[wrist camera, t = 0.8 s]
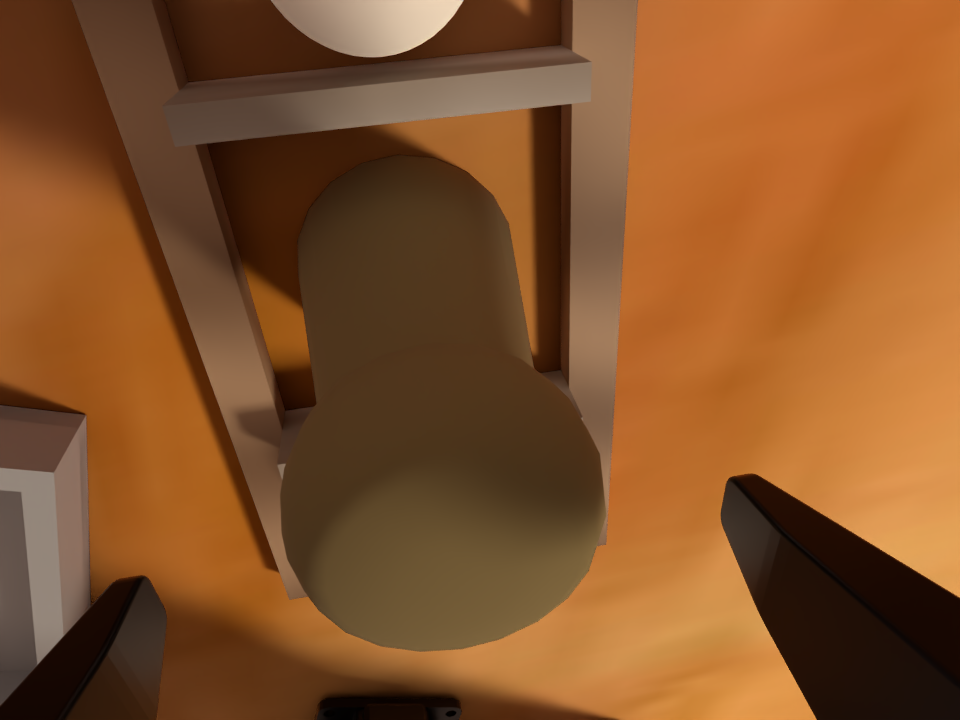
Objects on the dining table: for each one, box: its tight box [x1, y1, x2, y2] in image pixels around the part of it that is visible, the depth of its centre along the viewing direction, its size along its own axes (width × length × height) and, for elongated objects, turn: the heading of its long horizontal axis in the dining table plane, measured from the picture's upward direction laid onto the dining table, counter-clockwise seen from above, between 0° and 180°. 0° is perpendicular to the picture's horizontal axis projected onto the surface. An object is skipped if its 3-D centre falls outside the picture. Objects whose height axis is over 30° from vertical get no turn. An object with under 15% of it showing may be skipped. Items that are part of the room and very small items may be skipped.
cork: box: [280, 155, 606, 652], centre depth 14 cm, size 6×6×11 cm
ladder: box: [72, 0, 638, 600], centre depth 17 cm, size 24×12×2 cm, turn 4°
